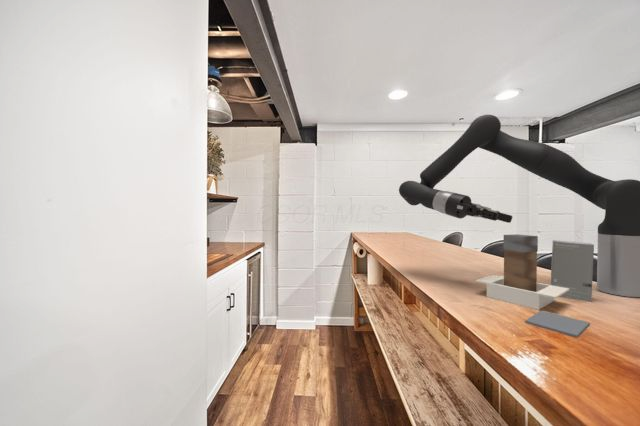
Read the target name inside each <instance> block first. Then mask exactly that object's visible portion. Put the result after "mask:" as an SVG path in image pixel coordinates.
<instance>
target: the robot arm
mask: <svg viewBox="0 0 640 426" xmlns="http://www.w3.org/2000/svg"><path fill="white" fill-rule="evenodd" d="M501 126H502V124H501V121H500V119H499V117H498V116H495V115H493V114H483V115H480V116H478V117H477V118H475V119H474V120H473V121H472V122H471V123H470V125H469V127H468V128H467V129H466V130H465V131H464V133H463V134H461V136H460V137H459V138H458V139H457V140H456V141H455V142H454V143H453V144H452V145H451V146H450V147H449V148H448V149H447V150H446V151H444V152H443V153H442V154H441V155H439V156H438V157H437V158H436V159H435V160H433V161H432V163H430V164H429V165H428V166H427V167H425V169H423V170H422V171H421V172H420V174H419V178H420V182H418V181H415V180H407V181H404V182H402V183H401V184H400V185H399V188H398V192H399V195H400V196H401V197H402V198H403V200H405V202H407V204H409V205H411V206H417V205H422V206H423V207H424V208H426V209H431V210H434V211H436V212H439V213H441V214H444V215H446V216H447V215H448V216H450V217H452V218H453V217H454V218H456V219H463V218H466V217H467V216H468V217H472V218H473V217H474V218H477V217H478V218H482V219H485V220H490V221H495V222H496V221H501V222H504V223H509V224H510V223H511V222H512V220H513V215H511V214H508V213H503V212H501V211H499V210H494V209H492V208H490V207H488V206H483V205H481V204H478V203H474V202H473V203H472V199H471V197H470V196H469V195H466V194H461V193H457V192H453V191H449V190H448V191H447V190H441V189H437V188H436V189H435V187H436V185H438V184H439V183H440V182H441V181H442V180H444V179H445V178H446V177H447V176H448V175H449V174H451V173H452V172H453V170H455V168H456V167H457V166H458V165H460V163H461V162H463V161H464V159H465V158H466V157H468V156H469V155H470V154H471V153H472V152H474V151H475V150H477V149H478V148H479V149H482V150H483V151H484V150H485V151H487V152H489V153H492V154H494V155H498V156H499V157H502V158H504V159H505V160H508V161H509V162H510V163H512V164H514V165H516V166H518V167H520V168H523V169H524V170H526V171H528V172H530V173H531V174H534V175H536V176H538V177H539V178H542V179H544V180H547V181H548V182H551V183H552V184H553V183H554V184H555V185H558V186H560V187H562V188H564V189H567V190H569V191H572V192H573V193H575V194H577V195H578V196H580V197H582V198H583V199H585V200H587V201H588V202H589V203H591V204H593V205H594V206H596V207H598V208H600V209H602V210H604V211H605V212H604V219H603V220H602V222H601V223H599V224H598V226H597V255H596V256H597V261H596V262H597V264H596V265H597V269H596V270H597V271H596V272H597V273H596V274H597V275H596V289H597V291H600V292H603V293H606V294H611V295H614V296H615V295H616V296H622V297H629V298H640V180H638V179H619V180H613V179H609V178H606V177H603V176H601V175H598V174H595V173H593V172H592V171H590V170H588V169H587V168H585V167H583V166H582V164H580V163H579V162H578V161H577V160H576V159H575V158H574V157H572V156H571V155H569V154H568V153H567V152H565V151H562V150H560V149H558V148H556V147H554V146H552V145H549V144H546V143H543V142H539V141H534V140H528V139H522V138H520V137H519V138H518V137H515V136H513V135H510V134H508V133H506V132H504V131H502V130H501V128H502V127H501Z"/></svg>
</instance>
